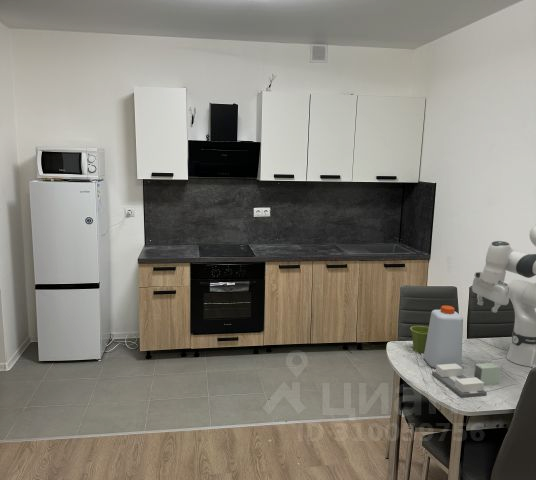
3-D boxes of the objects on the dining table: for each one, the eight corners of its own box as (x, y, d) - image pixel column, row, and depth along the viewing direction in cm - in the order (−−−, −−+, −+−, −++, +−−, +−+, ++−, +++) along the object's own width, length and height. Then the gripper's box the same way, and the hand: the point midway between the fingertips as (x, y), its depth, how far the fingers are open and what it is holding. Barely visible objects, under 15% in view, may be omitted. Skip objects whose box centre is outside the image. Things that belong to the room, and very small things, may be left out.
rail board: (455, 373, 216) (456, 362, 216) (486, 395, 196) (487, 383, 195) (431, 374, 214) (433, 364, 213) (461, 397, 193) (462, 385, 193)
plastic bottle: (431, 369, 219) (437, 311, 214) (421, 356, 234) (426, 301, 229) (463, 371, 219) (470, 313, 214) (451, 357, 234) (457, 303, 229)
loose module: (491, 379, 211) (493, 362, 210) (498, 384, 207) (500, 367, 206) (473, 381, 209) (475, 364, 208) (479, 385, 205) (482, 368, 204)
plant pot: (430, 347, 246) (432, 326, 244) (434, 356, 235) (437, 334, 233) (406, 345, 248) (408, 324, 246) (410, 354, 236) (412, 332, 234)
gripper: (516, 285, 198) (509, 316, 200) (484, 272, 217) (478, 301, 220) (503, 284, 196) (496, 316, 198) (472, 271, 216) (466, 300, 218)
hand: (486, 308), depth 209 cm, fingers open, 8 cm apart
